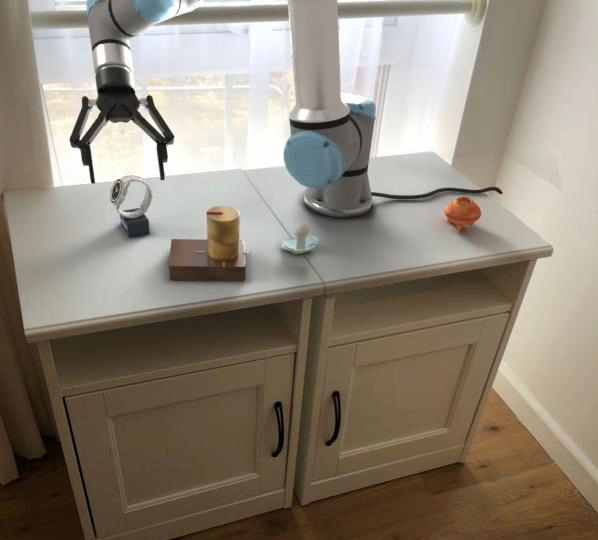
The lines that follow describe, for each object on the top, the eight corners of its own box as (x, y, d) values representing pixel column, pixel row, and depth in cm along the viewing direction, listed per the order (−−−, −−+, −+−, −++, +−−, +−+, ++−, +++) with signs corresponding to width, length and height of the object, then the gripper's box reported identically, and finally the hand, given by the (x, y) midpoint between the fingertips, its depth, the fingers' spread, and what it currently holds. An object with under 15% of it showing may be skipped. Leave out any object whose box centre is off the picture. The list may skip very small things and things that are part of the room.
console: (249, 253, 132) (249, 238, 130) (251, 281, 124) (251, 266, 122) (172, 252, 130) (171, 237, 128) (169, 280, 122) (168, 265, 120)
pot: (480, 236, 143) (481, 207, 138) (443, 238, 145) (442, 209, 140) (481, 218, 148) (481, 189, 144) (445, 220, 151) (444, 192, 146)
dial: (239, 244, 128) (239, 204, 122) (239, 260, 123) (240, 220, 118) (207, 244, 127) (206, 203, 122) (207, 260, 123) (206, 219, 117)
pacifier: (275, 246, 135) (289, 259, 131) (275, 217, 131) (290, 230, 127) (306, 239, 138) (320, 252, 134) (307, 211, 133) (323, 223, 130)
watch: (111, 226, 136) (104, 175, 128) (149, 220, 139) (144, 169, 131) (119, 239, 132) (112, 187, 125) (158, 232, 135) (153, 180, 128)
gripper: (176, 83, 139) (189, 183, 138) (51, 85, 133) (64, 189, 132) (178, 64, 131) (192, 169, 131) (46, 65, 126) (60, 175, 125)
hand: (128, 179), depth 132 cm, fingers open, 13 cm apart
